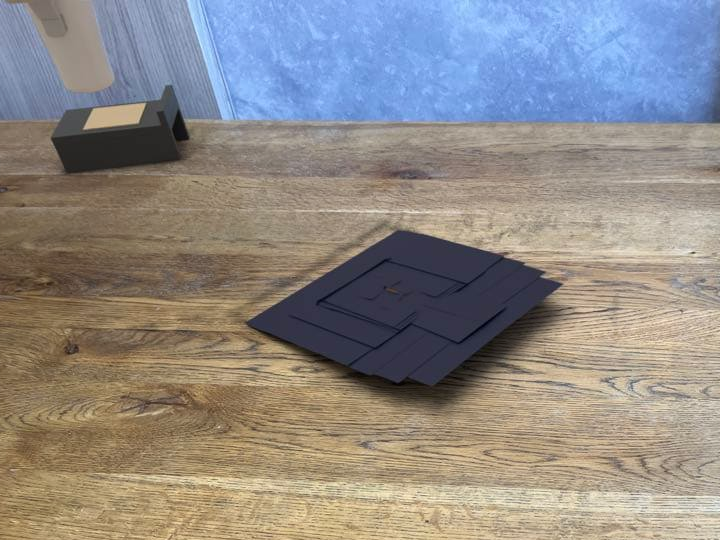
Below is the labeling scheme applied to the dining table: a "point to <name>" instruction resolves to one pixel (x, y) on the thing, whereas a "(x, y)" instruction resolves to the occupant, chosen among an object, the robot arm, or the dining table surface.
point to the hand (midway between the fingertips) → (67, 23)
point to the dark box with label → (121, 134)
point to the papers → (408, 306)
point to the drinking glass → (78, 47)
